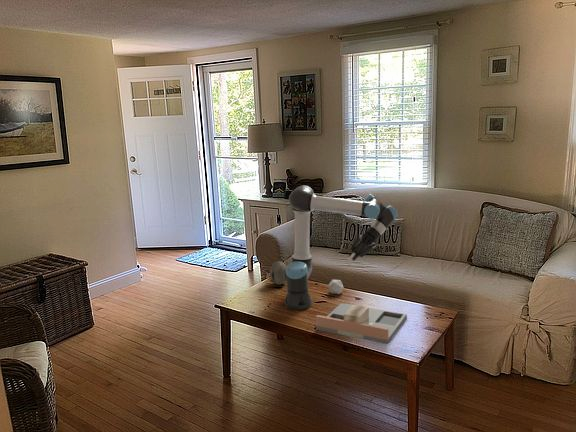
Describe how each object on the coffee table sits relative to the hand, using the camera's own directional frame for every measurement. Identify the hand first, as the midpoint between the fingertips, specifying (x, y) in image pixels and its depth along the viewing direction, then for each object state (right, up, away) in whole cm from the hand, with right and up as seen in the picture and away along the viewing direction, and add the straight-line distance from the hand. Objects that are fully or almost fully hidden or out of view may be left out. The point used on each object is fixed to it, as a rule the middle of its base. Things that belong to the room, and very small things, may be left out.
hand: (347, 263), depth 244 cm
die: (-3, -20, +26) cm, 33 cm away
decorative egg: (-37, -18, +46) cm, 62 cm away
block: (+2, -28, -22) cm, 36 cm away
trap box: (+6, -28, -15) cm, 33 cm away
